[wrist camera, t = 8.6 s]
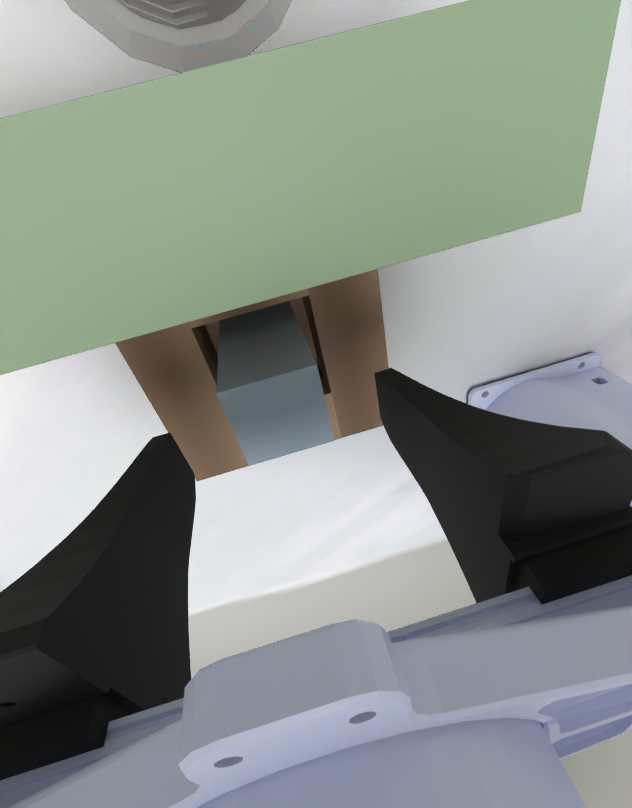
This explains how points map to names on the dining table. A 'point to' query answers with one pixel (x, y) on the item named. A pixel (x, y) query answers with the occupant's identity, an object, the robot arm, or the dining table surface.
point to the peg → (270, 384)
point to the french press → (184, 28)
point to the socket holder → (289, 195)
